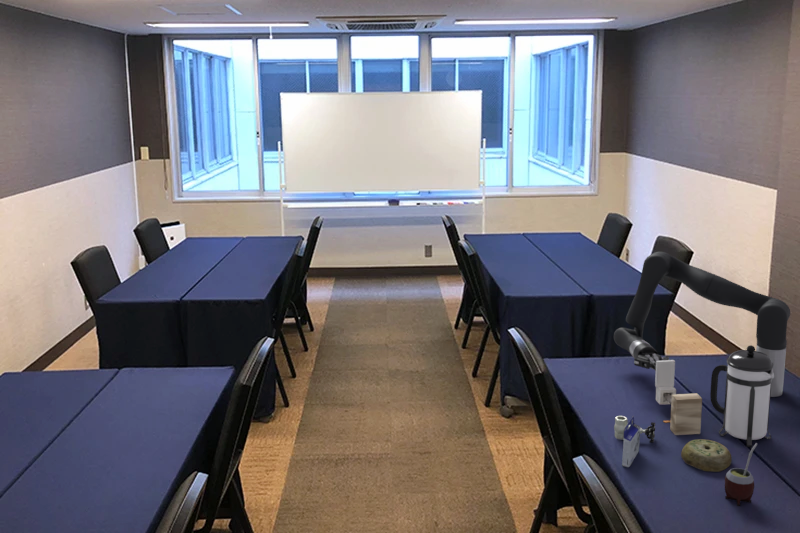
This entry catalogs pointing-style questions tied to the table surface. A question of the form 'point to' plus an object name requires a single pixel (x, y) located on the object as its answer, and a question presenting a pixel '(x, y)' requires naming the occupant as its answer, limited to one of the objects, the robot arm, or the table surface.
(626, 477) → the table surface
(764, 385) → the coffee press
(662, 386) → the white upright panel
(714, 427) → the table surface
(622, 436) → the valve
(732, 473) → the mate gourd
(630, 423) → the ink box
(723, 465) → the weight
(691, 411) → the rod stand
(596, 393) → the table surface
